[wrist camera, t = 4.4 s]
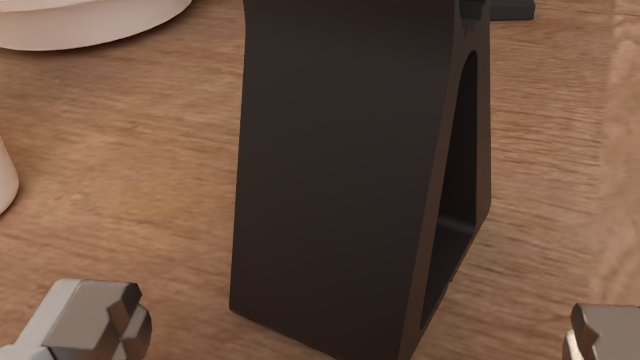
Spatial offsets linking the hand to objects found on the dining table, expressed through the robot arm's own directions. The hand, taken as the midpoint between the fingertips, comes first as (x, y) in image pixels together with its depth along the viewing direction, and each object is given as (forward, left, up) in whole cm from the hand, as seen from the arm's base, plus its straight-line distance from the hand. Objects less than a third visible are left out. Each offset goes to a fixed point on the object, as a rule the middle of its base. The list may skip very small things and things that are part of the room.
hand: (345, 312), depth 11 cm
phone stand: (0, -8, -7) cm, 10 cm away
